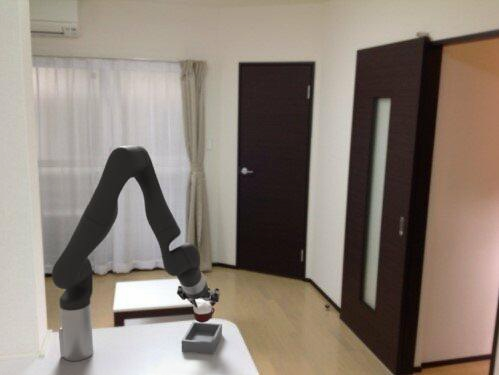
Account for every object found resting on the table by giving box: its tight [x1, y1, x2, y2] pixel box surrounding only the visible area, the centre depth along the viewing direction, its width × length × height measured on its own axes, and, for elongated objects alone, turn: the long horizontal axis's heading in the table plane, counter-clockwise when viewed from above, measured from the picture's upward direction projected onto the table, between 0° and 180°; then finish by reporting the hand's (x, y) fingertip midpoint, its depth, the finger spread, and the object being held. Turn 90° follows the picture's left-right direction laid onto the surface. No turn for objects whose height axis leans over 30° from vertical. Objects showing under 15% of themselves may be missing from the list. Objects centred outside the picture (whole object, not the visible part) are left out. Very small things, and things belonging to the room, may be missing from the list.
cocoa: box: [192, 299, 216, 323], centre depth 159 cm, size 10×6×12 cm, turn 102°
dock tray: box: [181, 321, 223, 356], centre depth 161 cm, size 11×14×4 cm
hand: (203, 302), depth 161 cm, fingers closed on cocoa, 6 cm apart
